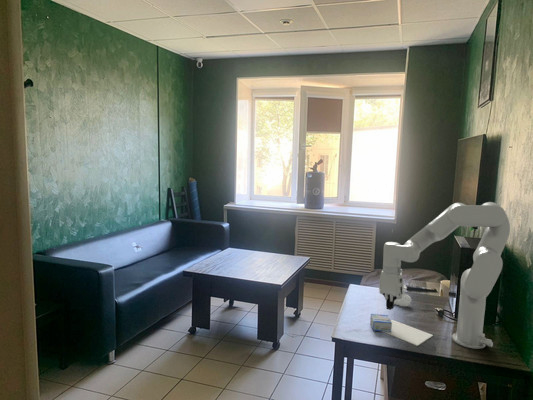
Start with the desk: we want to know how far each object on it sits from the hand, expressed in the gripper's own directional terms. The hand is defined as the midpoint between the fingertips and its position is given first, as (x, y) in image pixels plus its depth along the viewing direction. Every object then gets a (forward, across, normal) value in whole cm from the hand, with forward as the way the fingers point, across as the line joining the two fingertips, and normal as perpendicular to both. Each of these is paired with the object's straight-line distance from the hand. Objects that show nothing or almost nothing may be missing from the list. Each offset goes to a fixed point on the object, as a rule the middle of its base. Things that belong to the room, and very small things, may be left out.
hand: (389, 308), depth 172 cm
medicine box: (+6, +4, +2) cm, 7 cm away
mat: (+8, -8, 0) cm, 11 cm away
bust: (+9, +11, -29) cm, 32 cm away
